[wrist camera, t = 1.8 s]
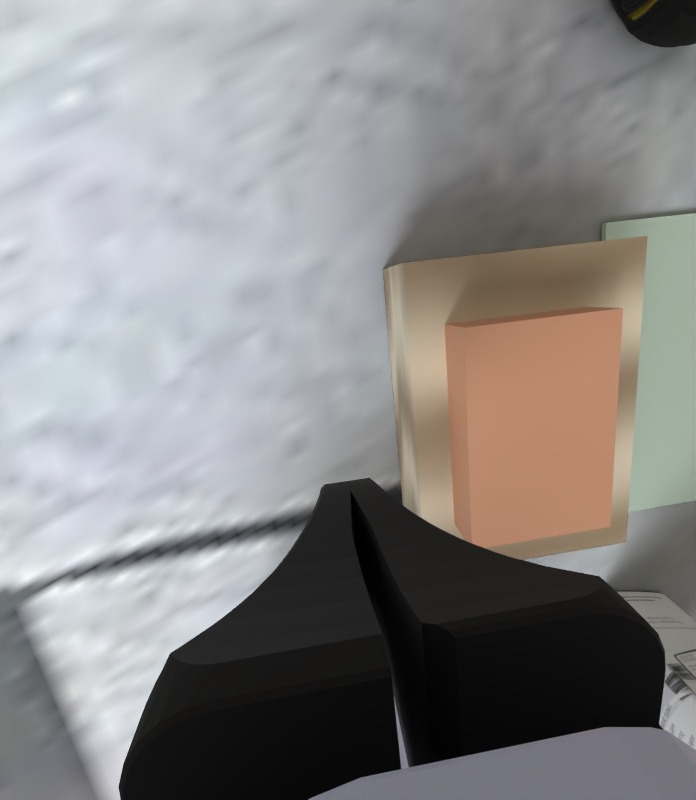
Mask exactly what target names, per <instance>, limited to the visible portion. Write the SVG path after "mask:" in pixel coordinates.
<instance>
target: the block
mask: <svg viewBox="0 0 696 800" xmlns="http://www.w3.org/2000/svg"><path fill="white" fill-rule="evenodd" d="M622 318H623V308H606V307H581V308H572V309H564V310H556V311H548V312H540V313H532V314H523V315H515V316H507V317H499V318H491V319H483V320H474V321H466V322H458V323H450V324H445V342H446V362H447V382H448V402H449V423H450V443H451V463H452V483H453V503H454V523H455V525H456V527H457V528H458V530H459V531H460V533H461V534H462V536H463V537H464V539H465V540H466V541H467V542H470V543H472V544H475V545H477V546H480V547H483V548H487V547H493V546H499V545H505V544H511V543H517V542H523V541H529V540H535V539H541V538H547V537H553V536H559V535H565V534H571V533H576V532H582V531H588V530H594V529H600V528H606V527H610V523H611V506H612V489H613V472H614V455H615V438H616V420H617V403H618V386H619V369H620V352H621V335H622Z"/></svg>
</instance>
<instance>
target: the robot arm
mask: <svg viewBox="0 0 696 800" xmlns="http://www.w3.org/2000/svg"><path fill="white" fill-rule="evenodd" d="M665 672H666V665H665V649H664V647H663V644H662V642H661V639H660V637H659V634H658V633H657V632H656V631H655V630H654V628H653V627H652V626H651V625H650V624H649V623H648V622H647V621H646V620H645V619H644V618H643V617H642V616H641V615H640V614H639V613H638V612H637V611H636V610H635V609H634V608H633V607H632V606H631V605H630V604H629V603H628V602H627V601H626V600H625V599H624V598H623V597H622V596H621V595H620V594H618V593H617V592H616V591H615V590H614V589H613V588H612V587H611V586H610V585H609V584H607V583H606V582H605V581H604V580H603V579H601V578H600V577H599V576H594V575H589V574H583V573H578V572H573V571H567V570H562V569H557V568H551V567H546V566H542V565H538V564H534V563H531V562H527V561H523V560H519V559H516V558H512V557H509V556H506V555H503V554H499V553H496V552H493V551H491V550H488V549H485V548H483V547H480V546H477V545H475V544H472V543H470V542H467V541H465V540H463V539H460V538H458V537H456V536H454V535H452V534H450V533H448V532H446V531H444V530H442V529H440V528H438V527H436V526H434V525H432V524H431V523H429V522H427V521H426V520H424V519H423V518H421V517H419V516H418V515H416V514H415V513H413V512H412V511H410V510H409V509H407V508H406V507H404V506H403V505H402V504H400V503H399V502H398V501H396V500H395V499H394V498H393V497H391V496H390V495H389V494H388V493H387V492H385V491H384V490H383V489H382V488H381V487H380V486H378V485H377V484H376V483H375V482H374V481H373V480H371V479H370V478H366V479H359V480H352V481H346V482H339V483H333V484H326V485H324V486H323V487H322V488H321V491H320V495H319V498H318V501H317V503H316V506H315V508H314V510H313V512H312V514H311V516H310V518H309V520H308V522H307V524H306V526H305V528H304V529H303V531H302V533H301V534H300V536H299V538H298V539H297V541H296V542H295V544H294V546H293V547H292V548H291V550H290V551H289V553H288V554H287V555H286V557H285V558H284V559H283V561H282V562H281V563H280V564H279V566H278V567H277V568H276V569H275V571H274V572H273V573H272V574H271V575H270V576H269V577H268V578H267V579H266V580H265V581H264V582H263V583H262V584H261V585H260V586H259V587H258V588H257V589H256V590H255V591H254V592H253V593H252V594H251V595H250V596H248V597H247V598H246V599H245V600H244V601H243V602H242V603H240V604H239V605H238V606H237V607H236V608H234V609H233V610H232V611H231V612H229V613H228V614H227V615H226V616H224V617H223V618H222V619H220V620H219V621H218V622H216V623H215V624H214V625H212V626H211V627H209V628H208V629H206V630H205V631H203V632H202V633H200V634H199V635H197V636H196V637H195V638H193V639H192V640H190V641H189V642H187V643H186V644H184V645H183V646H181V647H180V648H178V649H176V650H175V651H173V652H172V653H171V654H170V655H169V657H168V659H167V661H166V664H165V666H164V668H163V670H162V672H161V674H160V676H159V677H158V679H157V681H156V683H155V685H154V688H153V690H152V692H151V694H150V696H149V699H148V701H147V703H146V705H145V708H144V711H143V713H142V716H141V719H140V721H139V724H138V727H137V729H136V732H135V735H134V738H133V740H132V743H131V746H130V748H129V751H128V754H127V756H126V759H125V762H124V765H123V769H122V774H121V779H120V783H119V792H120V797H121V800H696V750H695V749H694V748H692V747H691V746H689V745H688V744H686V743H685V742H683V741H682V740H680V739H679V738H677V737H675V736H674V735H672V734H671V733H669V732H668V731H666V730H663V728H662V727H661V726H660V725H659V720H660V712H661V705H662V697H663V689H664V682H665Z"/></svg>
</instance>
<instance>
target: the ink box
mask: <svg viewBox="0 0 696 800" xmlns="http://www.w3.org/2000/svg"><path fill="white" fill-rule="evenodd" d="M617 593H618V594H620V595H621V596H622V597H623V598H624V599H625V600H626V601H627V602H628V603H629V604H630V605H631V606H632V607H633V608H634V609H635V610H636V611H637V612H638V613H639V614H640V615H641V616H642V617H643V618H644V619H645V620H646V621H647V622H648V623H649V624H650V625H651V626H652V627H653V628H654V630H655V631H656V632H657V633H658V634H659V637H660V639H661V642H662V644H663V647H664V649H665V665H666V672H665V682H664V689H663V697H662V705H661V712H660V720H659V725H660V726H661V727H662V728H663V730H666V731H668V732H669V733H671V734H672V735H674V736H675V737H677V738H679V739H680V740H682V741H683V742H685V743H686V744H688V745H689V746H691V747H692V748H694V749H695V750H696V621H695V620H694V619H693V618H691V617H690V616H689V615H688V614H687V613H686V612H684V611H683V610H682V609H681V608H680V607H678V606H677V605H676V604H675V603H674V602H673V601H671V600H670V599H669V598H668V597H667V596H665V595H664V594H661V593H653V592H617Z"/></svg>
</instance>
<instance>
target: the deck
mask: <svg viewBox="0 0 696 800" xmlns="http://www.w3.org/2000/svg"><path fill="white" fill-rule="evenodd" d="M647 238H648V236H642V237H633V238H623V239H614V240H605V241H596V242H587V243H578V244H569V245H560V246H550V247H541V248H532V249H523V250H514V251H505V252H496V253H486V254H477V255H468V256H459V257H450V258H441V259H432V260H422V261H413V262H404V263H400V264H397V265H394V266H391V267H388V268H385V269H383V276H384V288H385V300H386V311H387V323H388V335H389V347H390V359H391V371H392V382H393V394H394V406H395V418H396V430H397V442H398V454H399V465H400V477H401V489H402V501H403V506H404V507H406V508H407V509H409V510H410V511H412V512H413V513H415V514H416V515H418V516H419V517H421V518H423V519H424V520H426V521H427V522H429V523H431V524H432V525H434V526H436V527H438V528H440V529H442V530H444V531H446V532H448V533H450V534H452V535H454V536H456V537H458V538H460V539H463V540H465V539H464V537H463V536H462V534H461V533H460V531H459V530H458V528H457V527H456V525H455V523H454V503H453V483H452V463H451V443H450V423H449V402H448V382H447V362H446V342H445V324H450V323H458V322H466V321H474V320H483V319H491V318H499V317H507V316H515V315H523V314H532V313H540V312H548V311H556V310H564V309H572V308H581V307H606V308H623V318H622V335H621V352H620V369H619V386H618V403H617V420H616V438H615V455H614V472H613V489H612V506H611V523H610V527H606V528H600V529H594V530H588V531H582V532H576V533H571V534H565V535H559V536H553V537H547V538H541V539H535V540H529V541H523V542H517V543H511V544H505V545H499V546H493V547H487V548H485V549H488V550H491V551H493V552H496V553H499V554H503V555H506V556H509V557H512V558H516V559H519V560H525V559H530V558H536V557H542V556H548V555H554V554H559V553H565V552H571V551H577V550H583V549H588V548H594V547H600V546H606V545H612V544H618V543H623V542H626V537H627V523H628V509H629V494H630V480H631V466H632V452H633V437H634V423H635V409H636V395H637V380H638V366H639V352H640V338H641V323H642V309H643V295H644V281H645V266H646V252H647ZM465 541H466V540H465Z"/></svg>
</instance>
